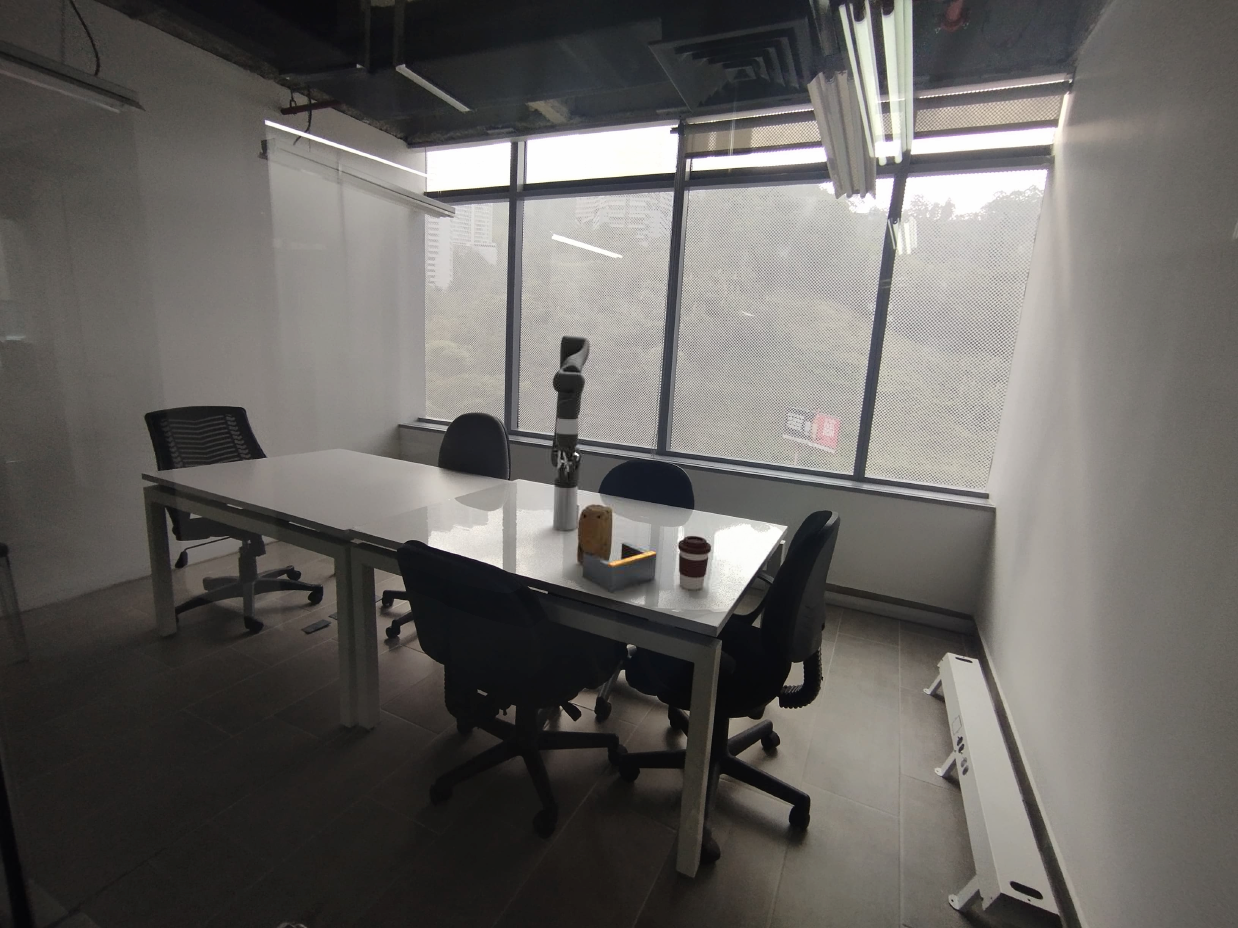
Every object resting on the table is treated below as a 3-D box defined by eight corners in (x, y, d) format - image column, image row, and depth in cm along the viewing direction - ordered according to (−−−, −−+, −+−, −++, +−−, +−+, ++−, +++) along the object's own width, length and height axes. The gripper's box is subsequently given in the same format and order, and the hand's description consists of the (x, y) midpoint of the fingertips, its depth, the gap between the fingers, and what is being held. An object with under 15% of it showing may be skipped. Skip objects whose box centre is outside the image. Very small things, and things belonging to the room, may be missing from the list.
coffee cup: (689, 576, 171) (692, 531, 168) (713, 586, 164) (718, 540, 161) (668, 583, 164) (672, 537, 161) (693, 595, 157) (697, 547, 154)
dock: (625, 564, 178) (626, 540, 176) (654, 578, 167) (656, 553, 166) (582, 576, 166) (583, 550, 164) (611, 592, 156) (613, 565, 154)
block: (612, 564, 177) (615, 506, 174) (603, 571, 171) (606, 512, 167) (583, 557, 181) (585, 501, 178) (573, 565, 175) (575, 506, 171)
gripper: (588, 434, 177) (586, 483, 181) (564, 428, 188) (562, 475, 191) (570, 435, 172) (568, 486, 176) (546, 429, 183) (544, 477, 186)
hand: (565, 480), depth 183 cm, fingers open, 4 cm apart
